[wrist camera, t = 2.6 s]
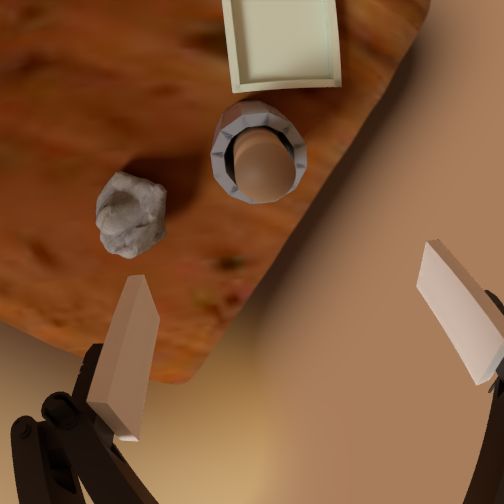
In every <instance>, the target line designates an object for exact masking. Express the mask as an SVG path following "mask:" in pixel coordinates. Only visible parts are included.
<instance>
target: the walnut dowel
mask: <svg viewBox="0 0 504 504" xmlns="http://www.w3.org/2000/svg"><path fill="white" fill-rule="evenodd" d="M233 151H234V167H235V180H236V183H237V186H238V188H239V189H240V191H241V192H242V193H243V194H244V195H245V196H247V197H248V198H250V199H252V200H255V201H258V202H271V201H275V200H277V199H280V198H281V197H283V196H284V195H286V194H287V193H288V192H289V190H290V189H291V188H292V186H293V184H294V182H295V178H296V167H295V164H294V161H293V159H292V158H291V156H290V155H289V153H288V152H287V150H286V148H285V147H284V145H283V144H282V142H281V141H280V139H279V138H278V136H277V135H276V133H275V132H274V130H273V129H272V128H271V127H269V126H267V125H263V126H253V127H246V128H245V129H243V130H242V131H241V132H239V133H238V134H236V135H235V136H234V137H233Z"/></svg>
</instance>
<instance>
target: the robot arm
mask: <svg viewBox="0 0 504 504" xmlns="http://www.w3.org/2000/svg"><path fill="white" fill-rule="evenodd" d="M416 287H417V288H418V290H419V291H420V293H421V294H422V296H423V297H424V299H425V300H426V302H427V303H428V305H429V307H430V308H431V310H432V311H433V313H434V314H435V316H436V317H437V319H438V320H439V322H440V324H441V325H442V327H443V329H444V330H445V332H446V333H447V335H448V337H449V338H450V340H451V342H452V343H453V345H454V347H455V348H456V350H457V352H458V353H459V355H460V357H461V359H462V360H463V362H464V364H465V366H466V367H467V369H468V371H469V373H470V375H471V376H472V378H473V380H474V382H475V383H476V385H479V384H481V383H483V382H485V381H488V380H490V378H491V377H492V375H493V374H494V372H495V371H496V372H497V374H498V377H497V379H496V380H495V382H494V383H493V385H492V386H491V388H490V389H489V392H488V393H490V392H491V391H492V390H493V389H494V393H493V400H492V405H491V410H490V415H489V420H488V424H487V428H486V432H485V436H484V440H483V444H482V448H481V451H480V455H479V458H478V461H477V464H476V468H475V471H474V474H473V477H472V480H471V483H470V486H469V488H468V491H467V494H466V497H465V499H464V502H463V504H504V306H503V304H502V302H501V301H500V300H499V299H498V297H497V296H495V295H494V294H493V293H491V292H490V291H488V290H485V291H484V290H483V289H482V288H481V287H480V285H479V284H478V283H477V282H476V281H475V279H474V278H473V277H472V276H471V275H470V274H469V272H468V271H467V270H466V269H465V268H464V267H463V265H462V264H461V263H460V262H459V261H458V260H457V259H456V258H455V257H454V256H453V254H452V253H451V252H450V251H449V250H448V249H447V248H446V247H445V246H444V245H443V244H442V242H441V241H440V240H439V239H437V240H430V241H426V244H425V250H424V254H423V259H422V264H421V268H420V272H419V276H418V281H417V285H416ZM159 322H160V318H159V315H158V313H157V310H156V307H155V304H154V302H153V299H152V296H151V293H150V291H149V288H148V285H147V282H146V279H145V276H144V274H143V275H134V276H128V278H127V281H126V284H125V286H124V289H123V291H122V294H121V297H120V299H119V302H118V305H117V307H116V310H115V313H114V316H113V319H112V321H111V324H110V327H109V330H108V333H107V336H106V339H105V342H104V344H93V345H92V346H91V347H90V349H89V350H88V351H87V352H86V354H85V357H84V360H83V363H82V366H81V369H80V372H79V373H80V374H79V375H78V378H77V381H76V384H75V387H74V390H73V393H72V396H70V395H69V394H68V393H65V392H55V393H53V394H51V395H50V396H49V397H47V398H46V400H45V401H44V403H43V405H42V409H41V413H42V417H43V418H44V419H45V420H46V421H42V422H36V421H35V420H34V419H33V418H32V417H30V416H22V417H20V418H18V419H17V420H16V421H15V422H14V423H13V425H12V427H11V447H12V457H13V466H14V474H15V481H16V487H17V493H18V499H19V504H86V503H85V499H84V496H83V493H82V489H81V486H80V482H79V479H78V477H79V478H80V480H81V482H82V484H83V485H84V487H85V489H86V491H87V492H88V494H89V496H90V497H91V499H92V501H93V502H94V504H159V503H158V502H157V501H156V500H155V498H154V497H153V496H152V495H151V493H150V492H149V491H148V490H147V488H146V487H145V486H144V484H143V483H142V482H141V481H140V479H139V478H138V476H136V474H135V472H134V471H133V470H132V468H131V467H130V466H129V464H128V463H127V461H126V460H125V459H124V457H123V456H122V454H121V453H120V451H119V450H118V448H117V447H116V445H115V444H114V443H113V437H114V434H115V435H116V436H117V437H118V438H119V439H120V440H127V441H139V437H140V429H141V423H142V416H143V409H144V403H145V397H146V391H147V385H148V379H149V374H150V368H151V363H152V357H153V352H154V347H155V342H156V337H157V332H158V327H159Z"/></svg>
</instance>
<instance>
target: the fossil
mask: <svg viewBox="0 0 504 504" xmlns="http://www.w3.org/2000/svg"><path fill="white" fill-rule="evenodd" d="M166 195H167V190H165V188H164V187H163V186H162V185H160V184H155V183H153V182H152V181H150V180H148V179H146V178H139V177H136V176H133V175H130V174H128V173H125V172H122V171H117V172H116V173H115V174H114V176H113V177H111V179H110V180H109V181H108V183H107V184H106V185H105V187H104V189H103V190H102V192H101V194H100V195H99V197H98V200H97V205H96V225H97V227H98V228H99V229H100V240H101V242H102V243H103V244H104V247H105V249H106V250H107V251H108V252H109V253H112V254H119V255H121V256H122V257H125V258H128V259H131V258H134V257H135V256H137V255H139V254H140V253H144V252H145V251H147V250H148V249H151V248H152V246H153V245H154V244H155V243H157V242H159V241H161V240H162V239H163V238H164V237H165V236H166V234H167V230H166V225H165V221H164V217H165V211H166V205H165V202H166Z"/></svg>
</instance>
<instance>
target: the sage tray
mask: <svg viewBox="0 0 504 504" xmlns="http://www.w3.org/2000/svg"><path fill="white" fill-rule="evenodd" d="M222 6H223V15H224V23H225V32H226V41H227V49H228V58H229V66H230V75H231V84H232V92H233V93H240V92H249V91H260V90H272V89H287V88H309V87H342V81H341V63H340V48H339V35H338V24H337V14H336V4H335V0H222Z"/></svg>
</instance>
